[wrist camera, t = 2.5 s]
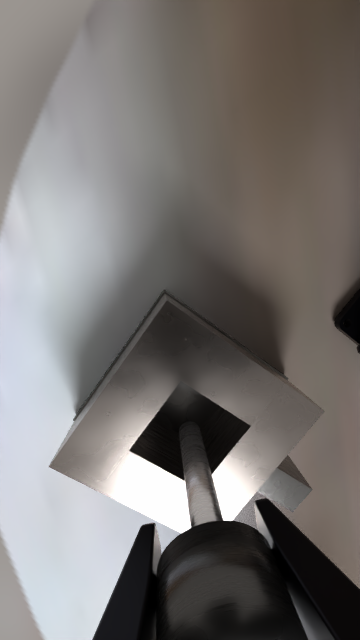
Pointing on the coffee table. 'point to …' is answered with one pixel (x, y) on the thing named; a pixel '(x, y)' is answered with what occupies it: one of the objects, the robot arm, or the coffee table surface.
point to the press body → (188, 420)
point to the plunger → (219, 570)
